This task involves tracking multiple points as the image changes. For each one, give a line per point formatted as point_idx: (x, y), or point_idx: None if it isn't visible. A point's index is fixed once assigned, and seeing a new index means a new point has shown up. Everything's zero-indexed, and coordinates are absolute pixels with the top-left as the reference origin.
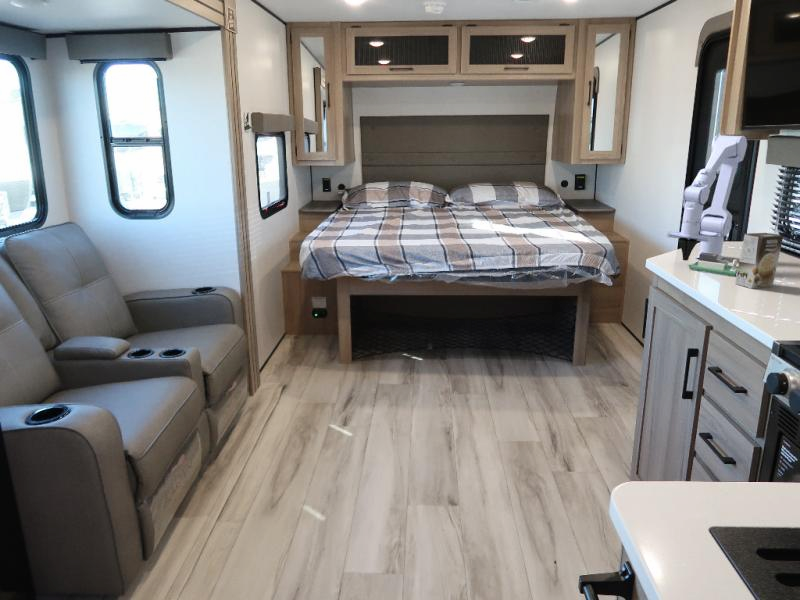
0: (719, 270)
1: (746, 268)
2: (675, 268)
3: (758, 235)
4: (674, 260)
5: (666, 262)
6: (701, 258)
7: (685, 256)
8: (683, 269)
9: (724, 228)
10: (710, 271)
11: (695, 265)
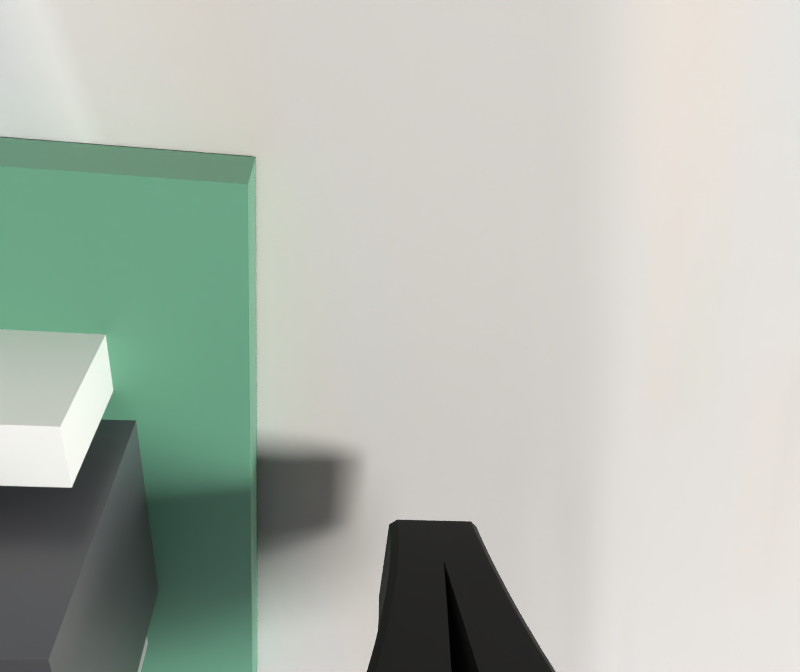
0: None
1: None
2: (562, 86)
3: None
4: (594, 657)
5: (725, 493)
6: (19, 556)
7: (439, 582)
8: (374, 98)
9: None
10: None
11: (178, 400)
